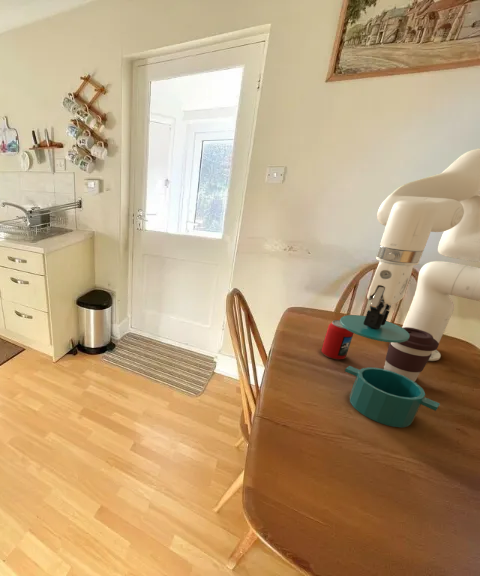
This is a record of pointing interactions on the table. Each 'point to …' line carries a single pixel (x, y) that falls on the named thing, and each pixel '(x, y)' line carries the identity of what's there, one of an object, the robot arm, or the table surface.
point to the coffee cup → (410, 353)
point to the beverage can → (336, 341)
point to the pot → (387, 396)
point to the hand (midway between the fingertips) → (373, 324)
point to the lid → (374, 329)
